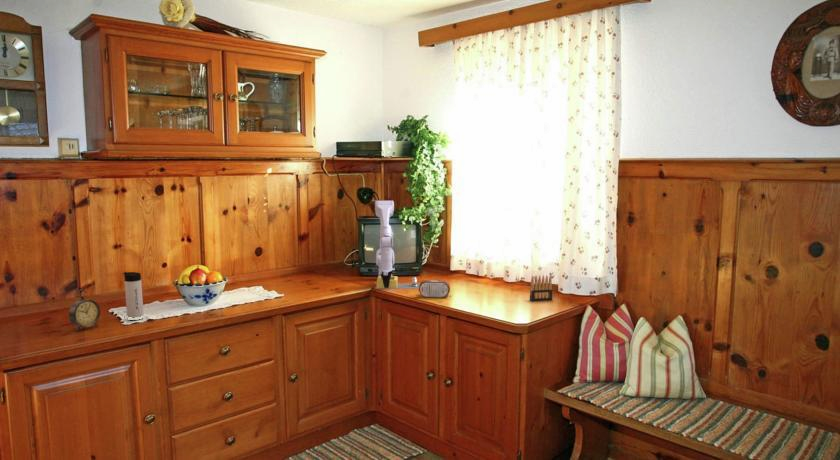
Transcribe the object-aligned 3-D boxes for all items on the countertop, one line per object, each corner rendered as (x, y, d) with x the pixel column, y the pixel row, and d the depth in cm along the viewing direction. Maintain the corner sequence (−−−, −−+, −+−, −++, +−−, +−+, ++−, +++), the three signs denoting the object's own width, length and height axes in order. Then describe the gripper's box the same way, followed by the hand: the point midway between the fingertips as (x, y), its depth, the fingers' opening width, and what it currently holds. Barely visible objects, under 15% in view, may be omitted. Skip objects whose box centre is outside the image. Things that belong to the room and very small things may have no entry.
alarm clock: (76, 333, 227) (73, 292, 225) (67, 331, 229) (64, 291, 227) (102, 326, 237) (99, 286, 235) (93, 324, 239) (90, 285, 237)
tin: (450, 296, 283) (450, 279, 282) (449, 298, 280) (449, 281, 279) (419, 296, 285) (419, 279, 284) (418, 297, 282) (418, 280, 281)
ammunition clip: (550, 299, 278) (551, 274, 276) (552, 300, 276) (553, 275, 274) (529, 300, 276) (529, 275, 274) (530, 301, 274) (531, 276, 272)
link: (378, 283, 308) (378, 276, 308) (397, 283, 308) (397, 276, 307) (376, 288, 298) (376, 280, 298) (396, 288, 298) (396, 280, 297)
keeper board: (376, 285, 310) (376, 283, 310) (426, 285, 309) (426, 283, 309) (374, 290, 297) (374, 288, 297) (426, 290, 296) (426, 288, 296)
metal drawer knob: (410, 285, 305) (410, 276, 304) (418, 285, 305) (418, 276, 304) (410, 286, 301) (410, 278, 300) (418, 286, 301) (418, 278, 300)
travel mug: (130, 317, 250) (126, 271, 247) (146, 316, 250) (143, 270, 248) (123, 321, 243) (120, 274, 241) (140, 320, 244) (137, 273, 241)
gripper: (393, 262, 290) (393, 289, 291) (395, 257, 304) (395, 283, 306) (379, 262, 290) (379, 289, 292) (381, 257, 304) (381, 283, 306)
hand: (386, 286), depth 299 cm, fingers open, 5 cm apart
